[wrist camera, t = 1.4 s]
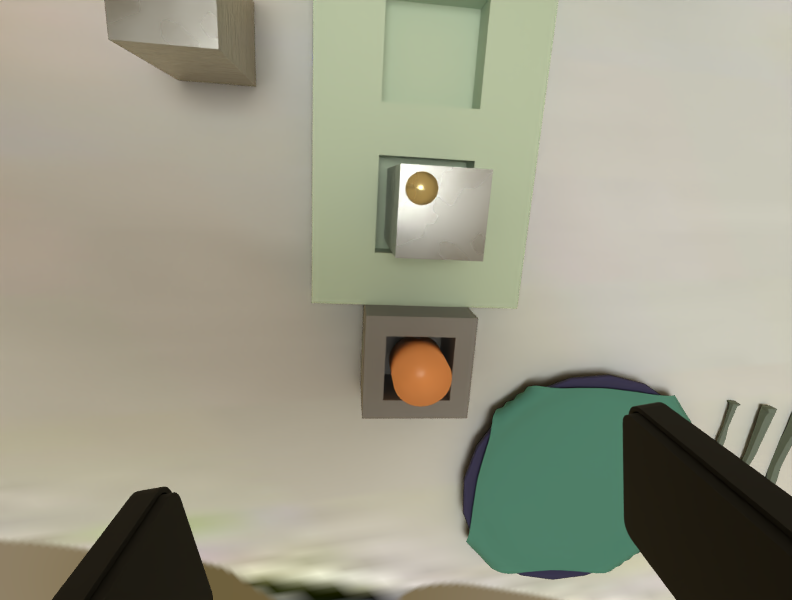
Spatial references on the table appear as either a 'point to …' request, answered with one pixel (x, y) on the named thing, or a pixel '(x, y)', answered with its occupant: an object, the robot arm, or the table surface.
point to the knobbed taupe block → (188, 37)
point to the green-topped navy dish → (567, 477)
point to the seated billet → (437, 212)
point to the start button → (419, 371)
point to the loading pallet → (422, 145)
